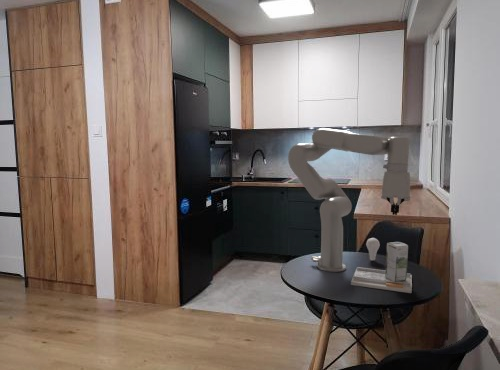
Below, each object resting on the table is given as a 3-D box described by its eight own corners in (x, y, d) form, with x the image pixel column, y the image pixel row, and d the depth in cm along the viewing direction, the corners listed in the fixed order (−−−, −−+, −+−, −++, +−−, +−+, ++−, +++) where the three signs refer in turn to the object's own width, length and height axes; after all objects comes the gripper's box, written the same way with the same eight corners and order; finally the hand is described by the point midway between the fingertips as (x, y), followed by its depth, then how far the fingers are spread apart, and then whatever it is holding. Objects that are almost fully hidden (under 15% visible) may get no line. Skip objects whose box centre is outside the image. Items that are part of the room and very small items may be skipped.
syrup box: (396, 275, 153) (397, 241, 151) (407, 280, 147) (408, 244, 146) (385, 277, 151) (386, 242, 149) (395, 282, 145) (396, 245, 144)
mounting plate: (350, 284, 147) (350, 279, 147) (356, 270, 164) (356, 266, 163) (411, 293, 138) (411, 288, 138) (411, 277, 155) (411, 272, 155)
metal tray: (353, 279, 149) (353, 276, 149) (357, 270, 161) (357, 267, 161) (410, 287, 141) (410, 283, 141) (410, 276, 153) (410, 273, 152)
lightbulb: (363, 259, 181) (364, 236, 180) (376, 258, 181) (376, 236, 180) (368, 262, 175) (369, 239, 174) (381, 262, 175) (382, 239, 174)
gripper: (376, 168, 146) (373, 214, 148) (418, 169, 140) (415, 217, 142) (378, 167, 153) (375, 211, 155) (418, 168, 147) (415, 214, 149)
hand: (394, 214), depth 148 cm, fingers closed
